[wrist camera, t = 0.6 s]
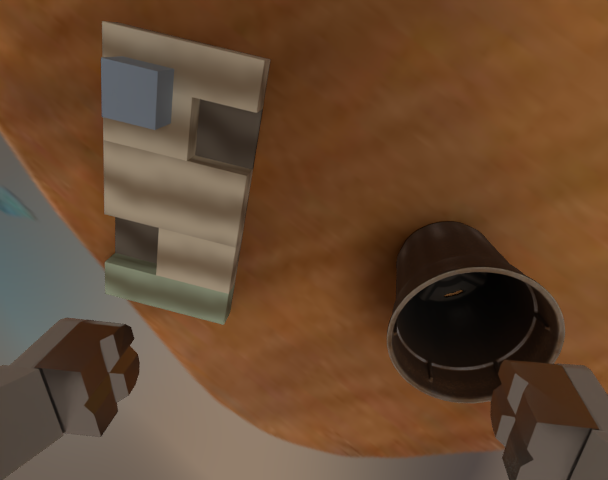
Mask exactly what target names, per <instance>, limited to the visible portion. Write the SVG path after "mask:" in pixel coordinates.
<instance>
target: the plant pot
mask: <svg viewBox="0 0 608 480" xmlns="http://www.w3.org/2000/svg"><path fill="white" fill-rule="evenodd" d="M396 268H397V280H396V301H395V304H394V307H393V313H392V317H391V319H390V322H389V325H388V330H387V348H388V352H389V356H390V358H391V361H392V363H393V365H394V366H395V368H396V370H397V371H398V372H399V374H400V375H401V376H402V377H403V378H404V379H405V380H406V381H407V382H408V383H410V384H411V385H412V386H414V387H415V388H417V389H418V390H420V391H421V392H423V393H425V394H427V395H430V396H432V397H435V398H438V399H441V400H445V401H450V402H458V403H480V402H486V401H491V399H492V395H493V390H495V389H496V388H497V387H499V386H500V385H501V384H502V383H501V381H500V378H499V375H498V373H499V369H500V366H501V364H502V362H503V361H504V360H516V361H527V362H539V363H550V364H554V362H555V361H556V359H557V358H558V356H559V354H560V352H561V349H562V346H563V342H564V337H565V325H564V319H563V315H562V312H561V310H560V308H559V306H558V304H557V302H556V301H555V299H554V298H553V297H552V296H551V295H550V293H549V292H548V291H547V290H546V289H545V288H543V287H542V286H541V285H540V284H539V283H537V282H536V281H535V280H533V279H531V278H529V277H528V276H526V275H524V274H523V273H522V272H521V271H519V270H518V269H517V268H515V267H514V266H512V265H510V264H509V263H508V261H507V260H506V259H505V258H504V257H503V256H502V255H501V254H500V253H499V252H498V251H497V250H496V249H495V248H494V247H493V246H492V244H491V243H490V242H489V241H488V240H487V239H486V238H485V236H484V235H483V234H481V233H480V232H479V231H478V230H476V229H474V228H472V227H469V226H467V225H464V224H462V223H458V222H439V223H434V224H431V225H428V226H425V227H423V228H421V229H419V230H417V231H416V232H415V233H413V234H412V235H411V236H410V237H409V238H408V239H407V240H406V242H405V244H404V245H403V247H402V248H401V250H400V252H399V254H398V257H397V264H396ZM459 290H463V292H462V293H460V294H458V295H454V296H449V297H444V295H446V294H448V293H454V292H456V291H459Z"/></svg>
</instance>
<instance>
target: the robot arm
mask: <svg viewBox="0 0 608 480" xmlns="http://www.w3.org/2000/svg"><path fill="white" fill-rule="evenodd" d="M133 340H134V337H133V333H132V329H131V327H130V326H128V325H126V324H119V323H111V322H102V321H94V320H82V319H74V318H65V319H61V320H59V321H58V322H57V323H56V324H54V325H53V327H51V328H50V329H49V330H48V331H47V332H46V333H45V334H43V335H42V336H41V337H40V338H39V339H38V340H37V341H36V342H35V343H34V344H33V345H31V346H30V347H29V348H28V349H27V350H26V351H25V352H24V353H23V354H22V355H21V356H19V357H18V358H17V359H16V360H15V361H14V362H13V363H12V364H11V365H9V366H7V365H2V366H0V480H3V479H4V478H6V477H7V476H8V475H10V474H11V473H12V472H14V471H15V470H17V469H18V468H19V467H21V466H22V465H23V464H25V463H26V462H27V461H29V460H30V459H32V458H33V457H34V456H36V455H37V454H39V453H40V452H41V451H43V450H44V449H46V448H47V447H48V446H50V445H51V444H52V443H54V442H55V441H57V440H58V439H59V438H61V437H62V436H63V433H65V434H76V435H86V436H96V437H101V436H102V435H103V433H104V432H105V430H106V429H107V427H108V426H109V424H110V423H111V421H112V420H113V418H114V417H115V415H116V414H117V412H118V408H117V402H119V401H120V400H122V399H124V398H125V397H127V396H128V395H129V394H130V393H131V391H132V389H133V388H134V386H135V384H136V381H137V378H138V375H139V358H138V354H137V353H136V352H135V351H134V350H133V349H132V348H131V347H130V344H131V343H132V341H133ZM498 375H499V378H500V381H501V383H502V384H501V385H500V386H499V387H497V388H496V389H495V390H493V395H492V399H491V414H490V416H491V422H492V427H493V431H494V434H495V437H496V439H498V440H499V441H500V442H501V443H502V444H503V445H504V446H505V450H504V453H503V456H502V459H503V462H504V466H505V469H506V472H507V475H508V478H509V480H608V395H607V393H606V392H605V390H604V389H603V387H602V386H601V385H600V383H599V382H598V380H597V379H596V377H595V376H594V374H593V373H592V371H591V370H590V369H589V368H587V367H586V366H584V365H570V364H550V363H539V362H527V361H516V360H504V361H503V362H502V364H501V366H500V369H499V373H498Z"/></svg>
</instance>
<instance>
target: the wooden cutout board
mask: <svg viewBox="0 0 608 480" xmlns="http://www.w3.org/2000/svg"><path fill="white" fill-rule="evenodd" d="M102 56H103V57H117V56H123V57H127V58H132V59H136V60H140V61H144V62H148V63H152V64H156V65H160V66H164V67H168V68H173V69H174V81H173V97H172V113H171V124H168V125H166V126H164V127H161V128H159V129H156V130H153V129H149V128H145V127H141V126H137V125H133V124H129V123H125V122H121V121H117V120H113V119H109V118H105V117H103V140H104V214H106V215H110V216H114V217H115V254H114V255H113V256H111V257H110V258H109V259H108V260H107V261H105V293H106V294H108V295H112V296H116V297H120V298H124V299H128V300H131V301H135V302H139V303H143V304H147V305H150V306H154V307H158V308H162V309H166V310H170V311H173V312H177V313H181V314H185V315H189V316H192V317H196V318H200V319H204V320H208V321H212V322H215V323H219V324H223V325H224V323H225V321H226V320H227V318H228V316H229V314H230V309H231V303H232V297H233V291H234V284H235V278H236V272H237V266H238V259H239V253H240V247H241V241H242V235H243V228H244V222H245V216H246V210H247V203H248V197H249V191H250V185H251V178H252V172H253V166H254V160H255V153H256V147H257V141H258V135H259V128H260V122H261V116H262V110H263V103H264V97H265V91H266V85H267V79H268V72H269V66H270V60H271V59H267V58H263V57H259V56H254V55H250V54H246V53H242V52H238V51H234V50H230V49H225V48H221V47H217V46H213V45H209V44H205V43H201V42H196V41H192V40H188V39H184V38H180V37H176V36H172V35H168V34H163V33H159V32H155V31H151V30H147V29H143V28H139V27H134V26H130V25H126V24H122V23H118V22H105V21H102Z"/></svg>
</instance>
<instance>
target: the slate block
mask: <svg viewBox="0 0 608 480" xmlns="http://www.w3.org/2000/svg"><path fill="white" fill-rule="evenodd" d="M173 81H174V69H173V68H168V67H164V66H160V65H156V64H152V63H148V62H144V61H140V60H136V59H132V58H127V57H123V56H117V57H102V58H101V87H102V117H105V118H109V119H113V120H117V121H121V122H125V123H129V124H133V125H137V126H141V127H145V128H149V129H153V130H156V129H159V128H161V127H164V126H166V125H168V124H171V113H172V97H173Z"/></svg>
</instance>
